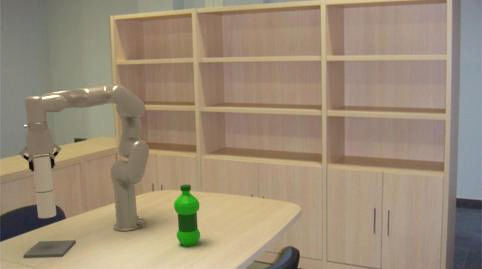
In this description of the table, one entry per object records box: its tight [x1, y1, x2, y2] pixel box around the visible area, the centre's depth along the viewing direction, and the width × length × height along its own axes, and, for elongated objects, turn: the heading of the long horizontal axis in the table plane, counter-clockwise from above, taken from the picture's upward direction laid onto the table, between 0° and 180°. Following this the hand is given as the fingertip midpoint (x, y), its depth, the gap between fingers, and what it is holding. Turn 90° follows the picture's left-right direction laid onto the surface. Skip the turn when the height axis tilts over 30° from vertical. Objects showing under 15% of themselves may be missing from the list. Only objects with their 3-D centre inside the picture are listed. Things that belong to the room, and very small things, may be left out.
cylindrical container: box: [32, 154, 57, 219], centre depth 219 cm, size 7×7×25 cm
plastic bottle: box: [173, 184, 201, 247], centre depth 221 cm, size 10×10×25 cm
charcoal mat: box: [23, 239, 77, 259], centre depth 223 cm, size 16×16×1 cm
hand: (42, 169), depth 218 cm, fingers closed on cylindrical container, 7 cm apart
